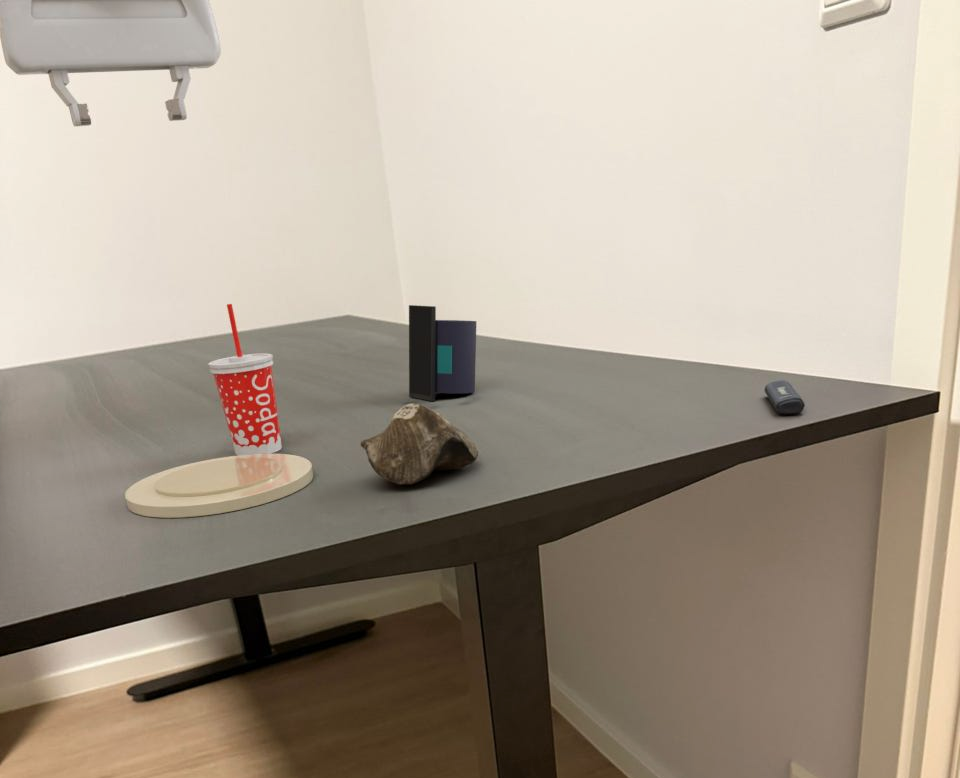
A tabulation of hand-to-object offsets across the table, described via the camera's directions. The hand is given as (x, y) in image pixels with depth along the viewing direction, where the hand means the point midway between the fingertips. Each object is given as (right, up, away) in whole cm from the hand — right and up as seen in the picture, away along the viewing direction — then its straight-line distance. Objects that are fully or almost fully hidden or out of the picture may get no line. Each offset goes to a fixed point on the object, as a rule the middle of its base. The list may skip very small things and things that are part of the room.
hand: (131, 122), depth 96 cm
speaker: (+31, -23, +17) cm, 42 cm away
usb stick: (+64, -30, -5) cm, 70 cm away
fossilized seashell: (+30, -38, -15) cm, 51 cm away
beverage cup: (+13, -33, 0) cm, 35 cm away
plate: (+12, -39, -12) cm, 42 cm away
